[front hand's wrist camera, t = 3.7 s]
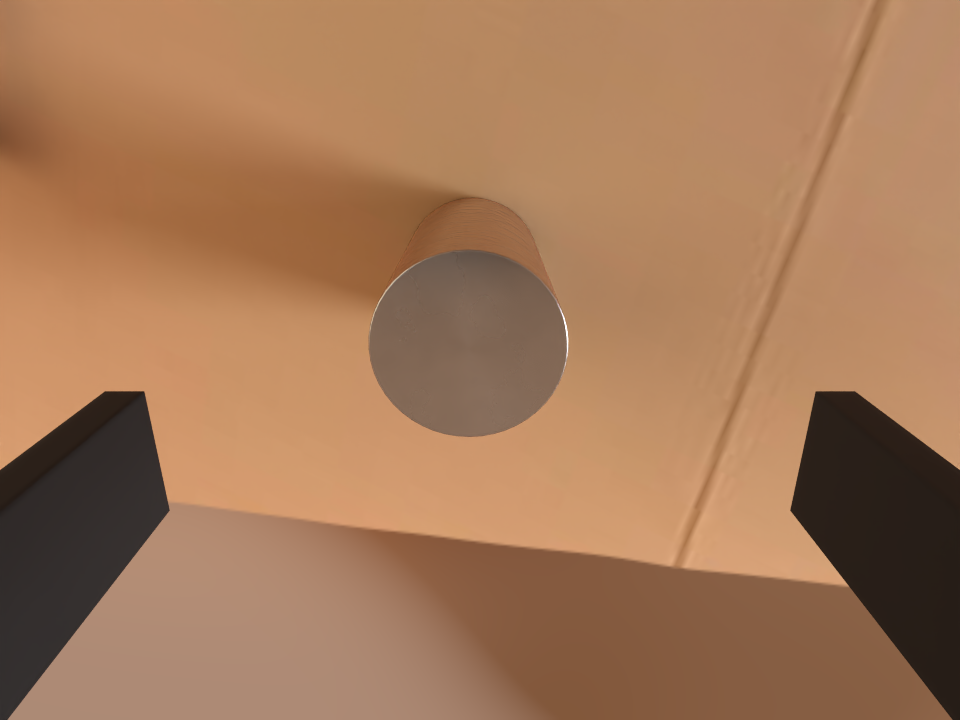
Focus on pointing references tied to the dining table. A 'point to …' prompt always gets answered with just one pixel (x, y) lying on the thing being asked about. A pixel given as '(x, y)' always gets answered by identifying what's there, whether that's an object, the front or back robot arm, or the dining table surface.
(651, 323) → the dining table surface
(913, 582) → the front robot arm
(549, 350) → the canister
